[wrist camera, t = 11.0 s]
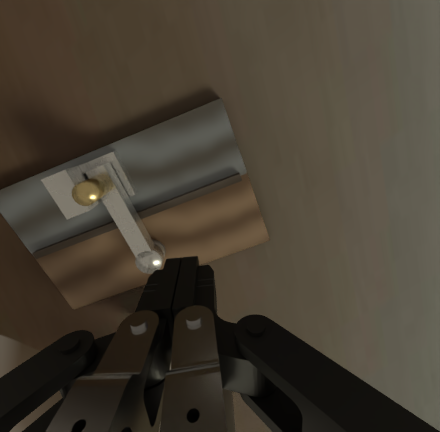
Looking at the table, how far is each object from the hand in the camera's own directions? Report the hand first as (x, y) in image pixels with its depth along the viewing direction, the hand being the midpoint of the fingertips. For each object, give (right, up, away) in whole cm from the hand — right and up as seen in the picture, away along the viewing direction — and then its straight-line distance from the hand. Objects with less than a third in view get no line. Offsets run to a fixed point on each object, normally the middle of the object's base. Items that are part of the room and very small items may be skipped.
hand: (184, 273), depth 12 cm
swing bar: (-11, +2, +22) cm, 25 cm away
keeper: (-14, +8, +22) cm, 27 cm away
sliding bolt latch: (-10, +3, +25) cm, 27 cm away
